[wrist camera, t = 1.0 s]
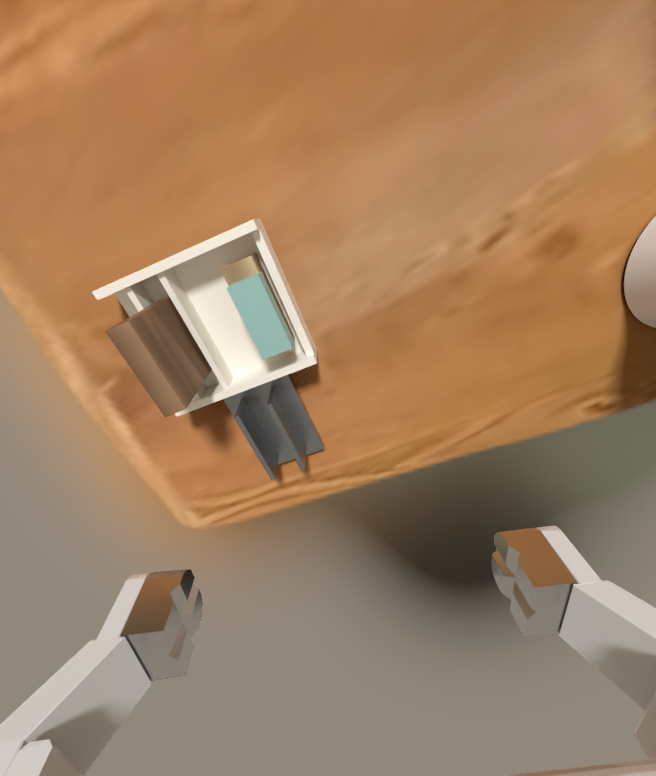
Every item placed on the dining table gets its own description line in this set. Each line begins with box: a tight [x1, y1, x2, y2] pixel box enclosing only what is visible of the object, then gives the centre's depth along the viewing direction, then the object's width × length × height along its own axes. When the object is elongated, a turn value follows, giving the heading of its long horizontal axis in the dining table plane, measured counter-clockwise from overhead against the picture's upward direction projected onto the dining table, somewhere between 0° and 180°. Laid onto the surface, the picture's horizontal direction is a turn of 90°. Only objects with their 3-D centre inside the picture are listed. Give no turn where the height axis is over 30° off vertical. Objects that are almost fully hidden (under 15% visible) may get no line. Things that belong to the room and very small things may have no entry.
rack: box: [92, 218, 317, 416], centre depth 36 cm, size 16×14×4 cm
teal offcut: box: [226, 271, 294, 360], centre depth 33 cm, size 3×7×2 cm, turn 21°
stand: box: [223, 374, 324, 480], centre depth 42 cm, size 8×11×5 cm
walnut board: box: [105, 296, 212, 417], centre depth 33 cm, size 2×8×10 cm, turn 22°
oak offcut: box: [220, 252, 295, 344], centre depth 35 cm, size 3×9×3 cm, turn 22°
